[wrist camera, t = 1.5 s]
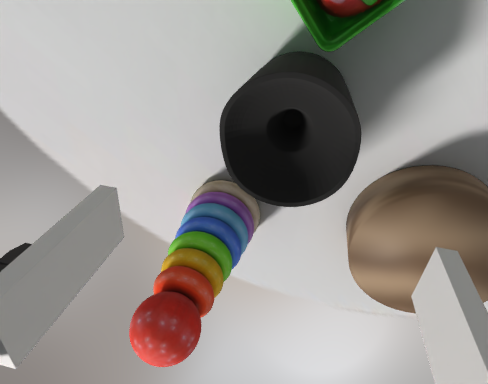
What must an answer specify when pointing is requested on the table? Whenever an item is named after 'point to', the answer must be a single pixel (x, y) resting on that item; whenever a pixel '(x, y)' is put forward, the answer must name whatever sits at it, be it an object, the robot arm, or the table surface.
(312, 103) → the pen holder
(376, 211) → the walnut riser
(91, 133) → the table surface
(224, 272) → the stacking toy
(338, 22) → the fruit basket
